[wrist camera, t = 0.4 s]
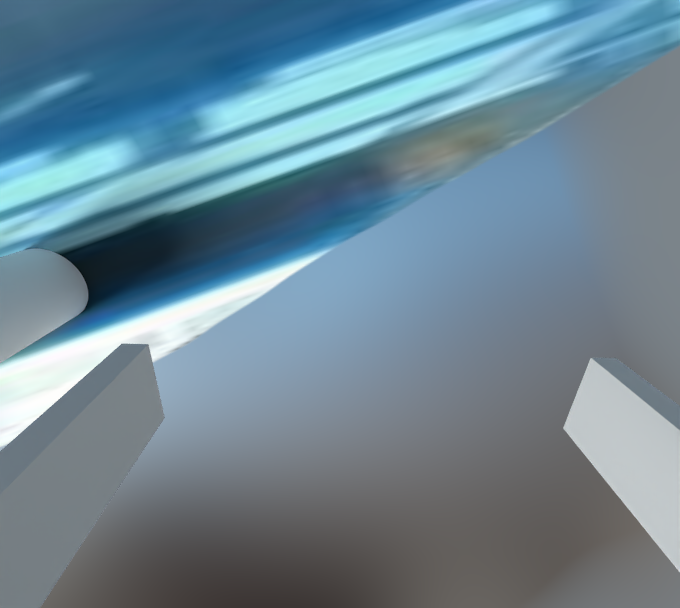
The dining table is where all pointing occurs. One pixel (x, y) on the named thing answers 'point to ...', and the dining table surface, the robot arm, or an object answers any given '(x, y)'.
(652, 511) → the robot arm
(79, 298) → the cup
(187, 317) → the dining table surface
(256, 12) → the dining table surface
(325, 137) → the dining table surface
